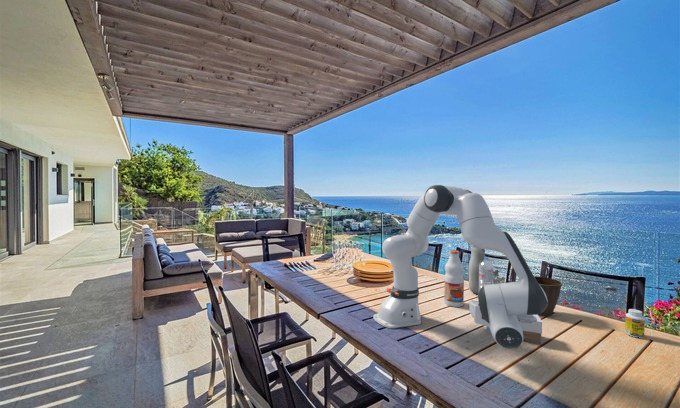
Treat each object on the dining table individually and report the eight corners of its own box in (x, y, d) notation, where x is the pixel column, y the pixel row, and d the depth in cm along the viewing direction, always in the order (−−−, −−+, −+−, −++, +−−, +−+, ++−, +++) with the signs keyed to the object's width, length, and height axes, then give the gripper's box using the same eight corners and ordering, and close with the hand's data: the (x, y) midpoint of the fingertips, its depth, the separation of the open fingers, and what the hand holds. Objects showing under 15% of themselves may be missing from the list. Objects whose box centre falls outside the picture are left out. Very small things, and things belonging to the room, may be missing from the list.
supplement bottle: (630, 337, 117) (631, 312, 117) (621, 331, 122) (622, 307, 122) (647, 339, 115) (648, 314, 115) (638, 333, 121) (639, 308, 120)
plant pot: (524, 315, 138) (525, 282, 137) (522, 305, 151) (522, 274, 151) (564, 322, 131) (564, 287, 130) (557, 310, 144) (558, 278, 144)
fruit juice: (453, 299, 160) (454, 248, 158) (467, 305, 151) (468, 251, 150) (440, 302, 156) (440, 250, 155) (453, 308, 147) (454, 253, 146)
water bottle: (494, 308, 147) (495, 259, 146) (480, 307, 149) (481, 258, 148) (490, 303, 154) (491, 256, 153) (476, 302, 155) (477, 255, 154)
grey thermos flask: (488, 292, 171) (488, 244, 170) (486, 297, 162) (486, 247, 161) (469, 289, 176) (470, 243, 175) (467, 294, 167) (467, 245, 166)
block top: (541, 333, 112) (542, 322, 112) (517, 329, 115) (518, 318, 115) (537, 324, 119) (537, 313, 119) (514, 321, 122) (514, 310, 122)
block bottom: (541, 344, 112) (541, 333, 112) (517, 340, 115) (517, 329, 115) (536, 335, 120) (536, 324, 119) (514, 331, 123) (514, 321, 123)
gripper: (538, 312, 95) (529, 298, 107) (469, 304, 103) (469, 292, 115) (538, 332, 95) (529, 315, 107) (469, 322, 103) (469, 308, 115)
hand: (497, 303), depth 111 cm, fingers open, 8 cm apart
